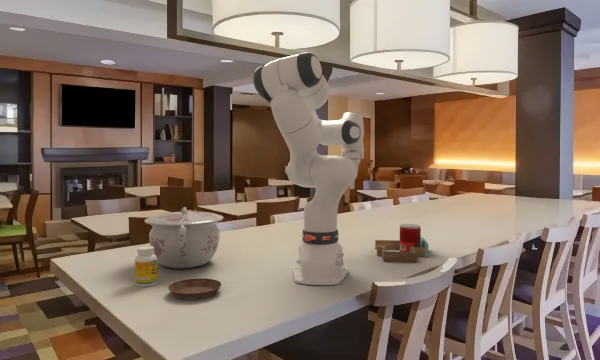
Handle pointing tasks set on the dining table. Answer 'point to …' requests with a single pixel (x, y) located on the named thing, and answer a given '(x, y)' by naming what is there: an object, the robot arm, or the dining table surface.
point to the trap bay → (399, 256)
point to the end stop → (424, 245)
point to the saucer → (194, 288)
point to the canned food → (409, 236)
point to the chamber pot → (184, 238)
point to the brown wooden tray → (395, 247)
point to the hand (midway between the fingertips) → (352, 188)
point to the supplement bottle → (146, 267)
